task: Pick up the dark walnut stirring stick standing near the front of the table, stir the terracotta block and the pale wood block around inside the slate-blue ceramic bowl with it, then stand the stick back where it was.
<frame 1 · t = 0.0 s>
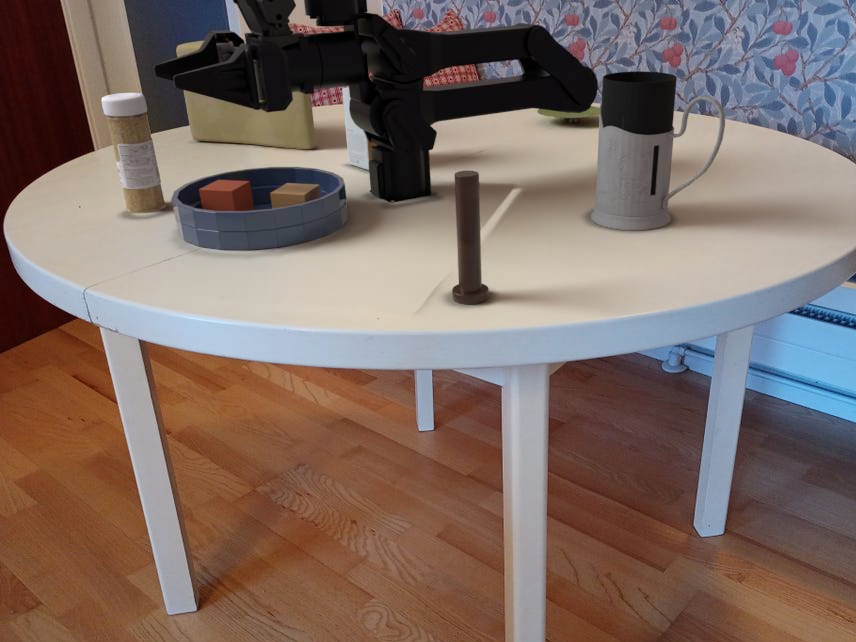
hand: (163, 76, 82), 17 cm above the table, tool horizontal, fingers open, 9 cm apart
bowl: (265, 227, 91), on the table
glass holder: (651, 224, 90), on the table
stirring stick: (470, 297, 72), on the table
terracotta block: (230, 220, 92), point 1 cm above the table, touching bowl
wood block: (300, 224, 90), point 1 cm above the table, touching bowl
olive green disc: (570, 123, 138), on the table
cheese: (262, 143, 130), on the table
small box: (382, 164, 116), on the table
sprinkles bottle: (147, 213, 98), on the table
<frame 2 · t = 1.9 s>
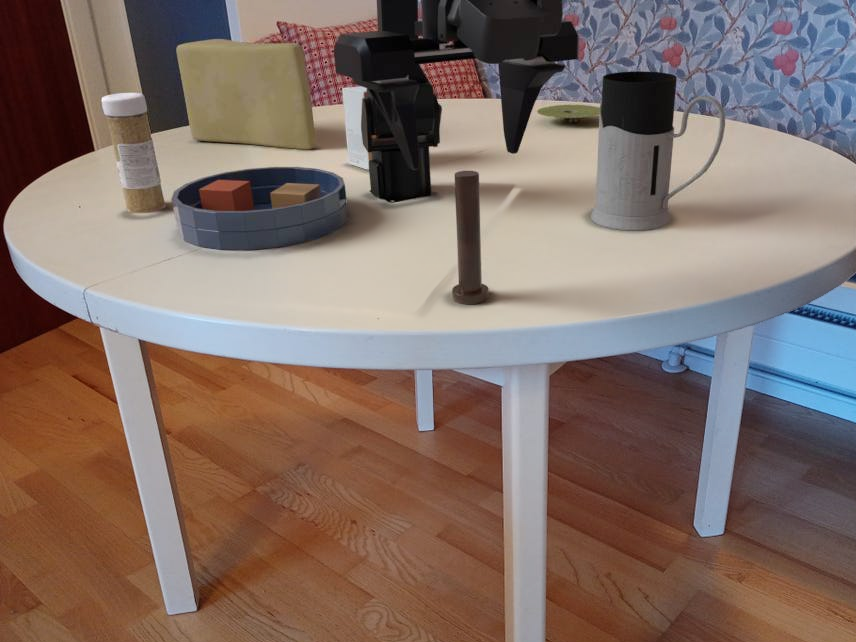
hand: (464, 160, 67), 12 cm above the table, tool pointing down, fingers open, 9 cm apart
nothing on the table moved.
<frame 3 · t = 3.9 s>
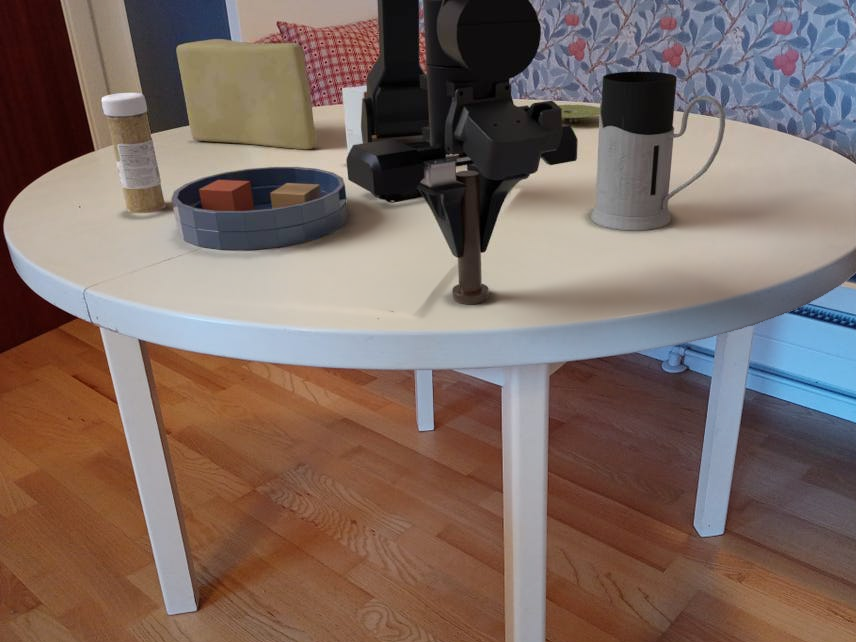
hand: (469, 254, 70), 4 cm above the table, tool pointing down, fingers closed on stirring stick, 2 cm apart
stirring stick: (470, 297, 72), on the table, touching gripper
everything else where it was.
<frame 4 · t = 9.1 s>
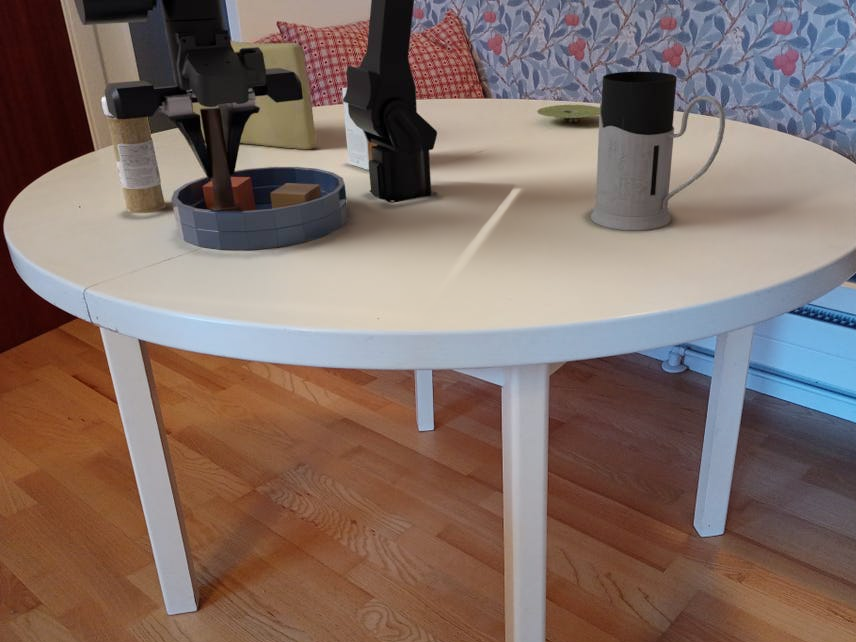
hand: (220, 175, 88), 6 cm above the table, tool pointing down, fingers closed on stirring stick, 2 cm apart
stirring stick: (226, 213, 89), point 2 cm above the table, tilted 5°, touching gripper, terracotta block
terracotta block: (232, 216, 93), point 1 cm above the table, touching bowl, stirring stick
everything else where it was.
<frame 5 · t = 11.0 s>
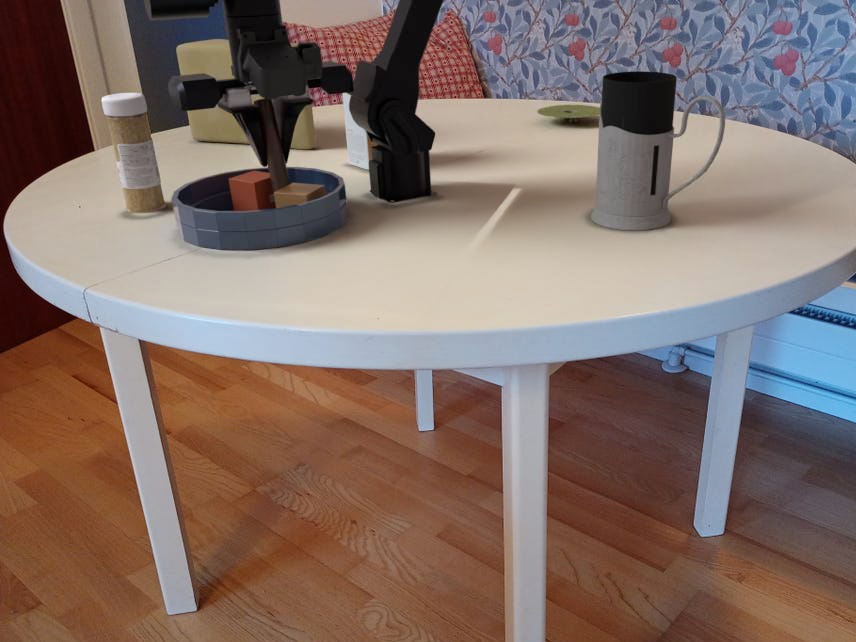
hand: (274, 164, 92), 6 cm above the table, tool pointing down, fingers closed on stirring stick, 2 cm apart
stirring stick: (284, 200, 92), point 2 cm above the table, tilted 19°, touching gripper
terracotta block: (259, 210, 95), point 1 cm above the table, touching bowl
everything else where it was.
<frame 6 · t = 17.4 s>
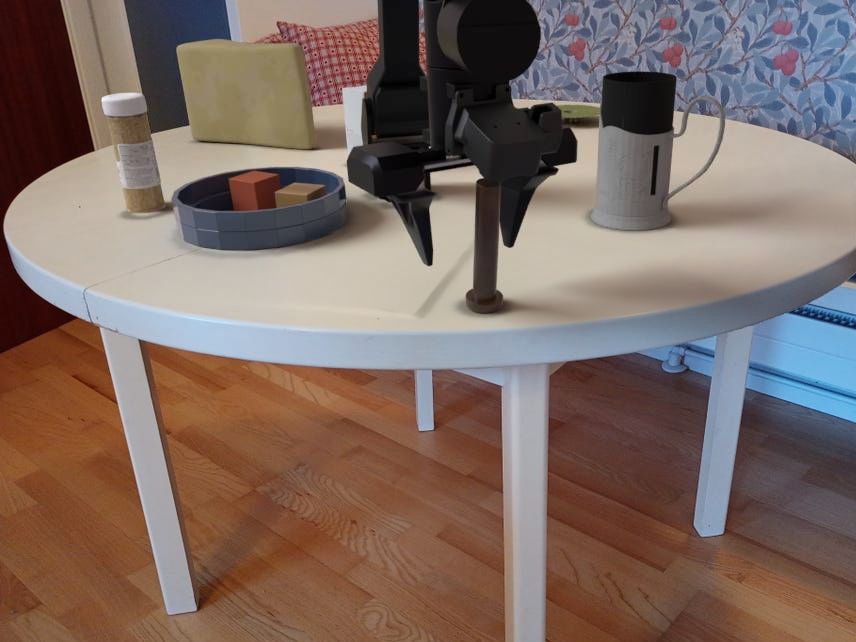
hand: (469, 255, 70), 4 cm above the table, tool pointing down, fingers open, 8 cm apart
stirring stick: (484, 303, 70), on the table, tilted 7°
everything else where it was.
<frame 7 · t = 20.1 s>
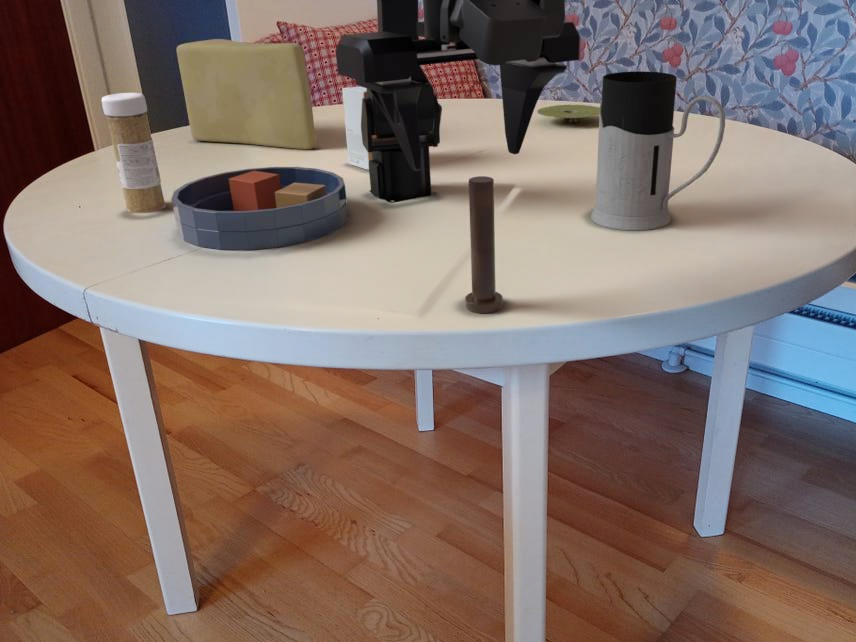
hand: (466, 161, 67), 12 cm above the table, tool pointing down, fingers open, 9 cm apart
stirring stick: (484, 305, 70), on the table
everything else where it was.
at the end: terracotta block moved 4.2 cm from its start; terracotta block inside the target area in the bowl (4.9 cm from its centre), point 0.6 cm above the bowl's base; stirring stick tilted 0° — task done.
